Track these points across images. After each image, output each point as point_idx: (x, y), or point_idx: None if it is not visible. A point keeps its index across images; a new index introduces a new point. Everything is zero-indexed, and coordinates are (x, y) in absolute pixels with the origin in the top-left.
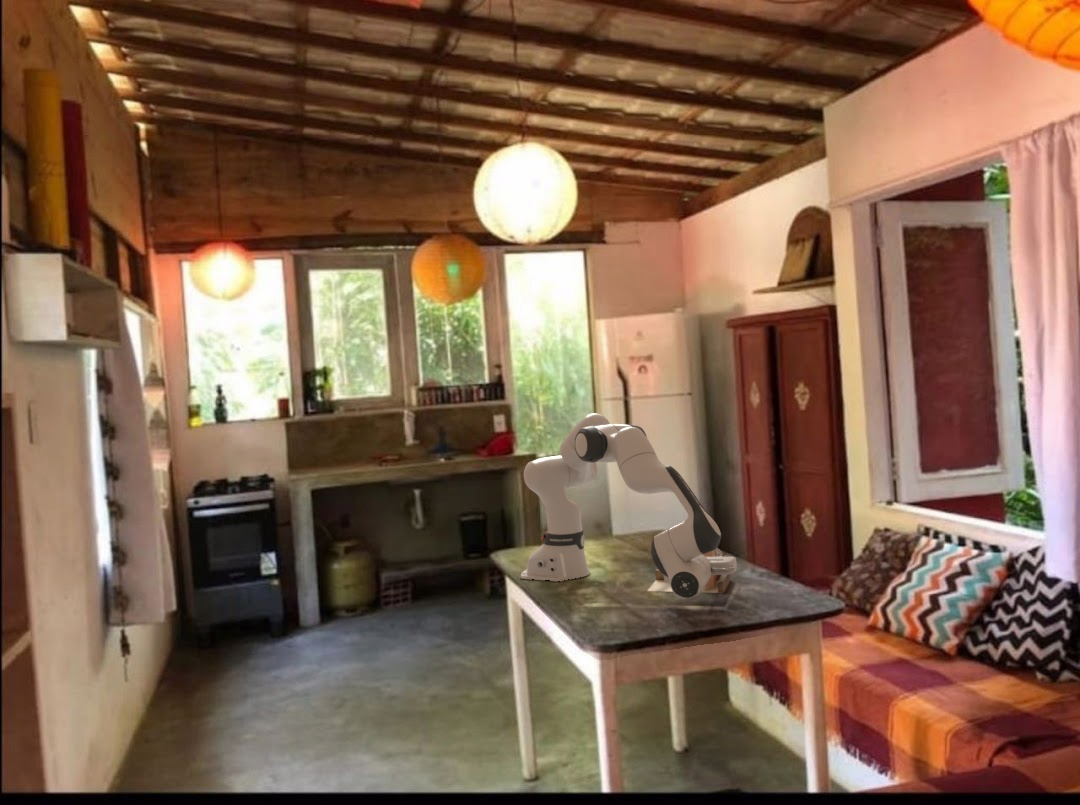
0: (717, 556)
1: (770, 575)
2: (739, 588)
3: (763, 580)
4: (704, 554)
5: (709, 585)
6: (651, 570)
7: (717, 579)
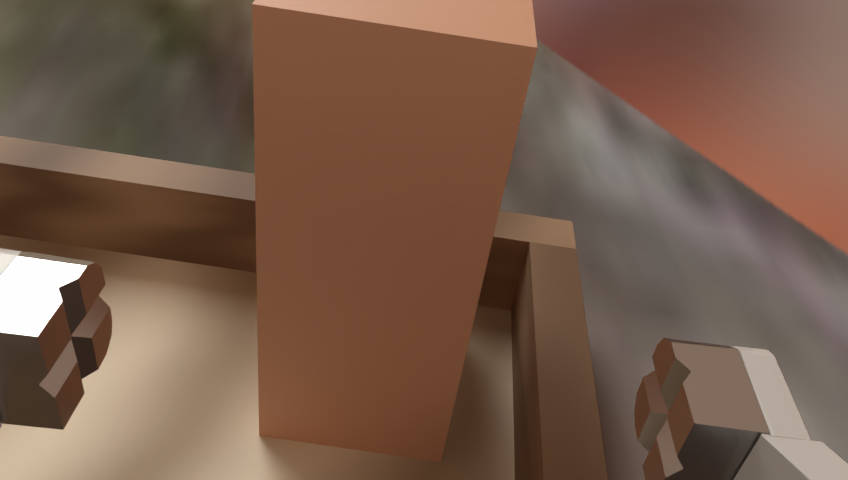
0: (702, 371)
1: (750, 194)
2: None
3: (755, 269)
4: (398, 153)
5: (395, 446)
6: (16, 43)
7: None
